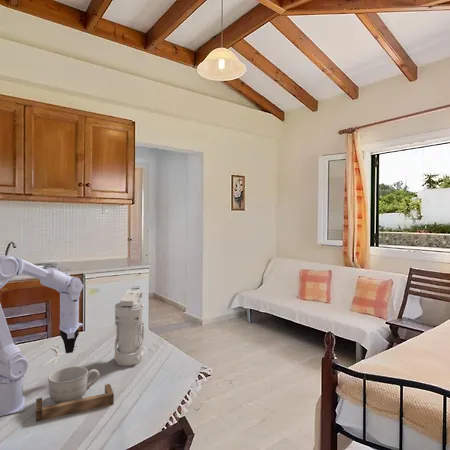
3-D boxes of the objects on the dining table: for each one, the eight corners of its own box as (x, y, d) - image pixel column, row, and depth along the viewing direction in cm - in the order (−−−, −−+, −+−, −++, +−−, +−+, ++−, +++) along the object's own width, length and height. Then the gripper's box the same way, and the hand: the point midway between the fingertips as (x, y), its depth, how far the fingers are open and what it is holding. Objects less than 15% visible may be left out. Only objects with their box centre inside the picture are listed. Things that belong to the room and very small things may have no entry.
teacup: (44, 411, 99) (44, 384, 98) (52, 391, 109) (52, 366, 109) (97, 405, 103) (97, 378, 102) (100, 386, 113) (100, 362, 113)
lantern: (139, 366, 127) (140, 298, 126) (110, 366, 127) (111, 297, 126) (147, 351, 140) (148, 289, 139) (121, 351, 140) (121, 288, 139)
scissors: (81, 344, 145) (62, 366, 125) (81, 345, 145) (62, 368, 126) (54, 344, 145) (31, 366, 125) (54, 346, 145) (31, 368, 125)
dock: (36, 422, 94) (35, 411, 94) (36, 409, 100) (36, 398, 100) (113, 404, 103) (113, 394, 103) (109, 393, 109) (109, 383, 109)
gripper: (84, 317, 113) (84, 358, 114) (80, 305, 126) (80, 342, 126) (60, 319, 110) (60, 362, 110) (58, 307, 122) (58, 345, 123)
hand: (69, 352), depth 118 cm, fingers closed
